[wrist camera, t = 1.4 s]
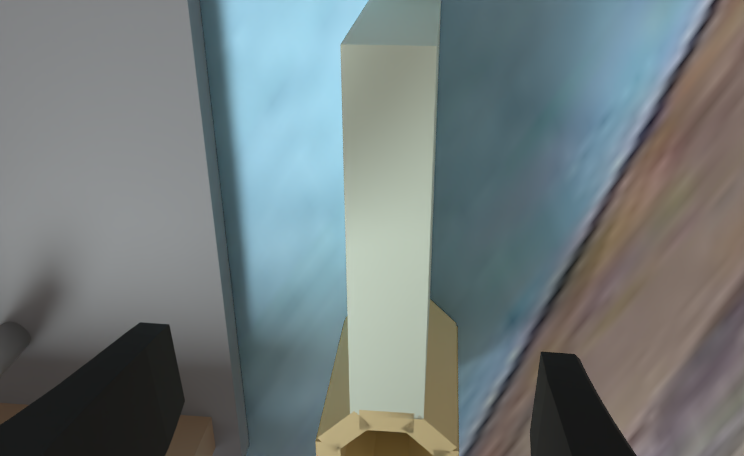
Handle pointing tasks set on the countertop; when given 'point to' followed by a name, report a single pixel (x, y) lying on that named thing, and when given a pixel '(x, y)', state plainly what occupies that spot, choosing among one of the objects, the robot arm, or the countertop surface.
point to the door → (391, 246)
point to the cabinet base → (114, 205)
